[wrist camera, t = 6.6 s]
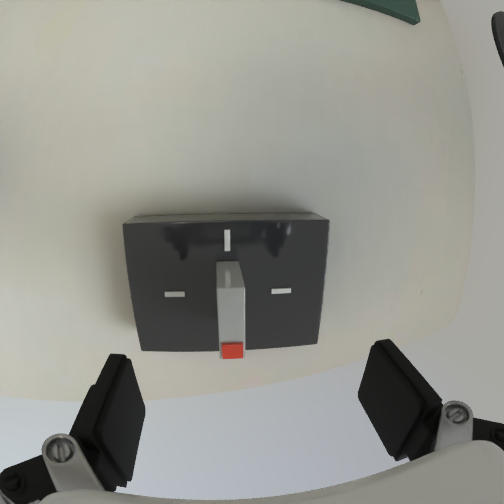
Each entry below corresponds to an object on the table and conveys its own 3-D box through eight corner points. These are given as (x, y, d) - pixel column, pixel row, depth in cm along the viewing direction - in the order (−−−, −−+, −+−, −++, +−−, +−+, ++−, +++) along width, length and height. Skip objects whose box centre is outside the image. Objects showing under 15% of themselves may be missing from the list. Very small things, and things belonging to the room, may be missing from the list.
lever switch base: (316, 213, 22) (331, 220, 19) (307, 325, 25) (318, 345, 22) (134, 216, 20) (121, 224, 17) (148, 331, 23) (140, 352, 20)
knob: (216, 261, 19) (216, 290, 14) (238, 260, 19) (245, 289, 15) (218, 321, 20) (220, 361, 16) (239, 321, 20) (245, 360, 16)
